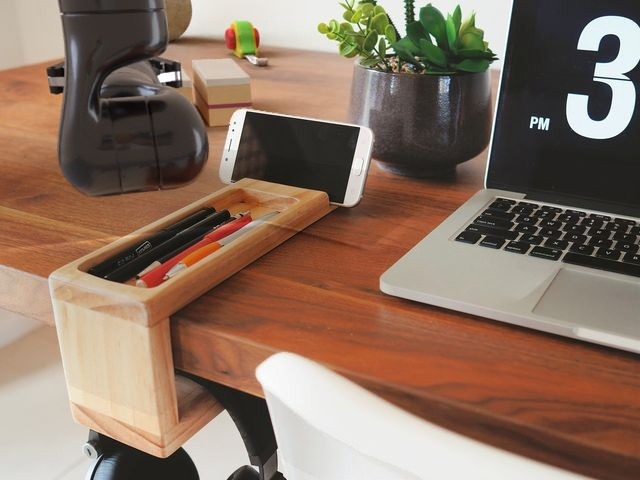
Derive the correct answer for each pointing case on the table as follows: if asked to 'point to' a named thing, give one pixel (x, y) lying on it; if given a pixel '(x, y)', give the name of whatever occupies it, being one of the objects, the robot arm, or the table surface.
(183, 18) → the fossilized egg
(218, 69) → the cake
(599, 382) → the table surface
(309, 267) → the table surface
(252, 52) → the toy measuring tape
